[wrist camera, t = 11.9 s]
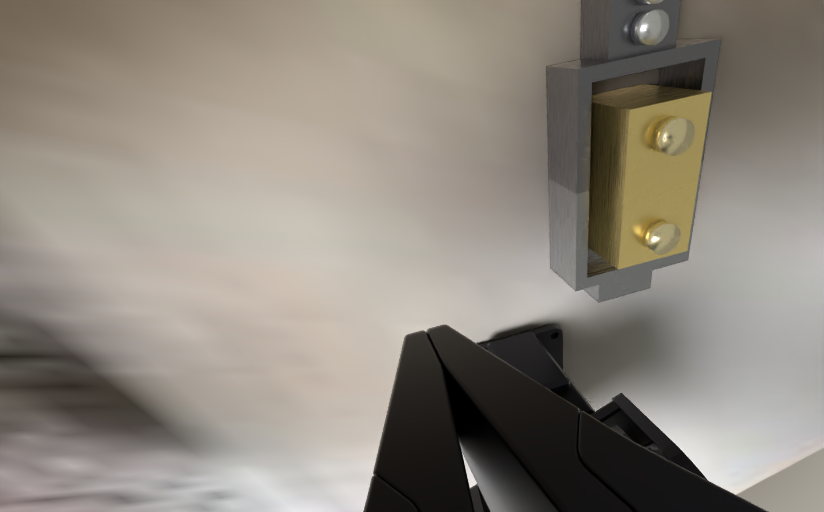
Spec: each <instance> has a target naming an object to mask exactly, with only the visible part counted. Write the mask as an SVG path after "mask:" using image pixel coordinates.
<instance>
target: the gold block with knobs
mask: <svg viewBox="0 0 824 512" xmlns="http://www.w3.org/2000/svg"><path fill="white" fill-rule="evenodd" d="M711 94H712V92H710V91H701V90H692V89H683V88H674V87H666V86H657V85H648V84H641V85H636V86H632V87H627V88H622V89H618V90H613V91H608V92H604V93H599V94H594V95H592V102H591V142H590V181H589V221H588V248H589V249H591V250H592V251H593V252H595V253H596V254H598V255H599V256H600V257H602V258H603V259H605V260H606V261H607V262H609V263H610V264H612V265H613V266H614V267H616V268H617V269H622V268H626V267H629V266H633V265H637V264H641V263H644V262H648V261H652V260H656V259H659V258H663V257H667V256H670V255H674V254H678V253H682V252H685V251H687V250H688V244H689V237H690V231H691V224H692V218H693V211H694V205H695V198H696V192H697V185H698V179H699V172H700V166H701V159H702V153H703V146H704V140H705V133H706V126H707V120H708V113H709V107H710V100H711Z"/></svg>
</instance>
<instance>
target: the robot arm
mask: <svg viewBox="0 0 824 512" xmlns="http://www.w3.org/2000/svg"><path fill="white" fill-rule="evenodd" d="M552 333H554V334H552ZM551 334H552V335H551ZM461 450H462V451H461ZM462 452H463V455H464V457H465V459H466V461H467V463H468V465H469V467H470V469H471V471H472V474H473V476H474V478H475V480H476V482H477V484H476V485H475V486H473V487H472V488H469V483H468V478H467V474H466V469H465V465H464V460H463V455H462ZM373 474H374V476H373V477H372V479H371V483H370V487H369V492H368V496H367V500H366V504H365V508H364V511H363V512H768V511H766V510H764V509H762V508H760V507H758V506H756V505H754V504H752V503H750V502H748V501H746V500H745V499H743V498H741V497H739V496H737V495H735V494H733V493H731V492H729V491H727V490H725V489H723V488H721V487H719V486H717V485H715V484H713V483H711V482H709V481H708V480H707V479H706V478H705V476H704V475H703V474H702V473H701V472H700V470H699V469H698V468H697V467H696V466H695V465H694V464H693V462H692V461H691V460H690V459H689V458H688V457H687V456H686V455H685V454H684V453H683V451H682V450H681V449H680V448H679V447H678V446H677V445H676V444H675V443H674V442H673V441H671V440H670V439H669V438H668V437H667V436H666V435H665V434H664V433H663V432H662V431H661V430H660V429H659V428H658V427H657V426H656V425H655V424H654V423H653V422H652V421H650V420H649V419H648V418H647V417H646V416H645V415H644V414H643V413H642V412H641V411H640V410H639V409H638V408H637V407H636V406H635V405H634V404H633V403H632V402H631V401H630V400H628V399H627V398H626V397H625V396H624V395H623V394H622V393H620V394H619V395H617V396H616V397H614V398H612V402H610V403H608V404H607V405H605V406H604V407H602V408H600V409H599V410H597V411H596V412H595V411H594V409H593V408H592V407H591V406H590V404H589V403H588V402H587V401H586V399H585V398H584V397H583V395H582V394H581V393H580V392H579V390H578V389H577V388H576V387H575V385H574V384H573V383H572V381H571V380H570V379H569V377H568V376H567V375H566V374H565V372H564V371H563V333H562V330H561V329H560V328H559V327H558V326H557V325H555V324H553V325H548V326H545V327H541V328H537V329H534V330H530V331H527V332H523V333H520V334H516V335H513V336H509V337H506V338H502V339H499V340H495V341H492V342H488V343H484V344H481V345H478V344H476V343H475V342H473V341H471V340H470V339H468V338H467V337H465V336H464V335H462V334H460V333H459V332H457V331H456V330H454V329H453V328H451V327H449V326H448V325H440V326H436V327H433V328H429V329H428V330H427V332H425V331H418V332H415V333H411V334H408V335H406V336H405V338H404V342H403V346H402V351H401V355H400V359H399V364H398V368H397V372H396V377H395V381H394V385H393V389H392V394H391V398H390V402H389V407H388V411H387V415H386V420H385V424H384V428H383V433H382V437H381V441H380V445H379V450H378V454H377V458H376V463H375V467H374V471H373Z"/></svg>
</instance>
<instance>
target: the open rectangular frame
mask: <svg viewBox="0 0 824 512" xmlns="http://www.w3.org/2000/svg"><path fill="white" fill-rule="evenodd" d="M680 3H681V0H581V42H580V59H579V60H574V61H569V62H564V63H560V64H555V65H550V66H546V76H547V124H548V172H549V220H550V268H551V269H552V270H553V271H554V272H555V273H556V274H557V275H558V276H559V277H561V278H562V279H563V280H564V281H565V282H566V283H567V284H568V285H569V286H570V287H571V288H573V289H574V290H575V291H578V290H582V289H583V290H585V291H586V292H587V293H588V294H589V295H590V296H591V297H593V298H594V299H595V300H596V301H597V302H598V303H599V302H602V301H606V300H610V299H613V298H617V297H620V296H624V295H627V294H631V293H635V292H638V291H642V290H645V289H649V288H650V285H651V275H652V270H655V269H658V268H662V267H666V266H669V265H673V264H676V263H680V262H684V261H687V260H688V257H689V250H690V244H691V237H692V230H693V224H694V217H695V210H696V204H697V197H698V190H699V184H700V177H701V170H702V164H703V157H704V150H705V144H706V137H707V130H708V124H709V117H710V110H711V104H712V97H713V90H714V84H715V77H716V70H717V64H718V57H719V50H720V44H721V39H677V31H678V22H679V13H680ZM656 68H660V73H659V84H658V86H666V87H674V88H683V89H692V90H701V91H710V92H712V94H711V100H710V107H709V113H708V120H707V126H706V133H705V140H704V146H703V153H702V159H701V166H700V172H699V179H698V185H697V192H696V198H695V205H694V211H693V218H692V224H691V231H690V237H689V244H688V250H687V251H685V252H682V253H678V254H674V255H670V256H667V257H663V258H659V259H656V260H652V261H648V262H644V263H641V264H637V265H633V266H629V267H626V268H622V269H617V268H616V267H614V266H613V265H612V264H610V263H609V262H607V261H606V260H605V259H603V258H602V257H600V256H599V255H598V254H596V253H595V252H593V251H592V250H591V249H588V221H589V181H590V142H591V102H592V82H597V81H601V80H606V79H610V78H615V77H620V76H624V75H629V74H633V73H638V72H643V71H647V70H652V69H656Z"/></svg>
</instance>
